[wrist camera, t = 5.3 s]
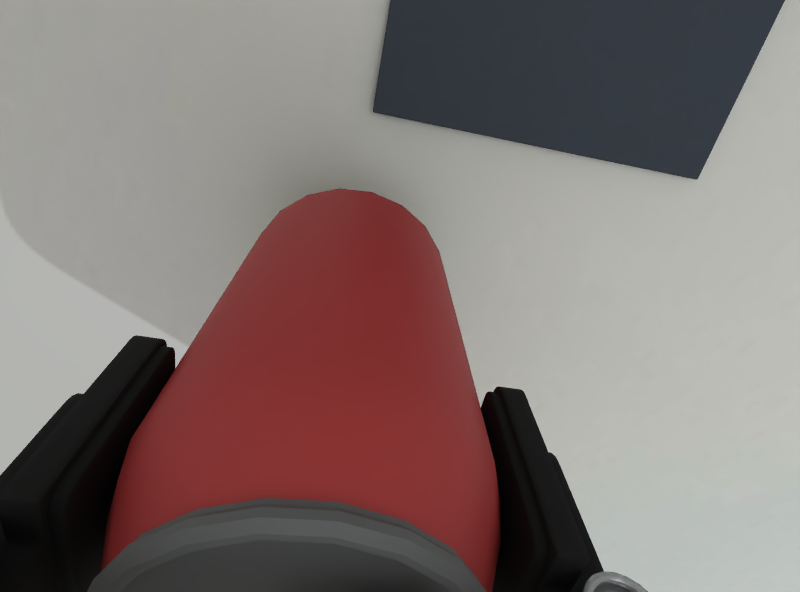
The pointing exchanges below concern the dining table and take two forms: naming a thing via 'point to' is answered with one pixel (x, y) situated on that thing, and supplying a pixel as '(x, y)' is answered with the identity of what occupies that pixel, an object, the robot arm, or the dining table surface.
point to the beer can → (315, 426)
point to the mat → (576, 72)
